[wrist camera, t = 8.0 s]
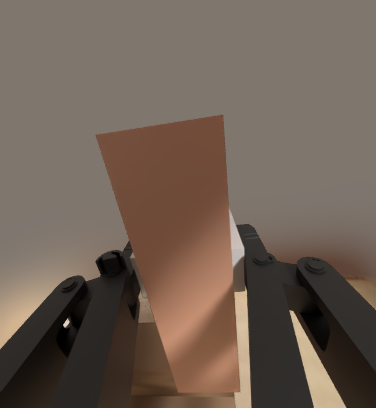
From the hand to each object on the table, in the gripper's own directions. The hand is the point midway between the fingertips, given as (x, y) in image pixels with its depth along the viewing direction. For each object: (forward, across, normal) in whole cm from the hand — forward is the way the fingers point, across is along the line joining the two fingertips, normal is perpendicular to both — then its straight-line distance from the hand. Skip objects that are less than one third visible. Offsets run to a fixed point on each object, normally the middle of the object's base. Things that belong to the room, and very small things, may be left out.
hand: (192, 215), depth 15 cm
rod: (-5, 0, -9) cm, 10 cm away
